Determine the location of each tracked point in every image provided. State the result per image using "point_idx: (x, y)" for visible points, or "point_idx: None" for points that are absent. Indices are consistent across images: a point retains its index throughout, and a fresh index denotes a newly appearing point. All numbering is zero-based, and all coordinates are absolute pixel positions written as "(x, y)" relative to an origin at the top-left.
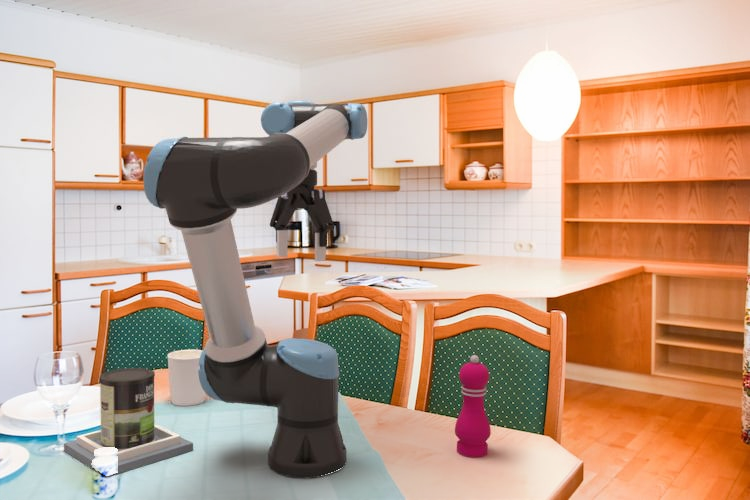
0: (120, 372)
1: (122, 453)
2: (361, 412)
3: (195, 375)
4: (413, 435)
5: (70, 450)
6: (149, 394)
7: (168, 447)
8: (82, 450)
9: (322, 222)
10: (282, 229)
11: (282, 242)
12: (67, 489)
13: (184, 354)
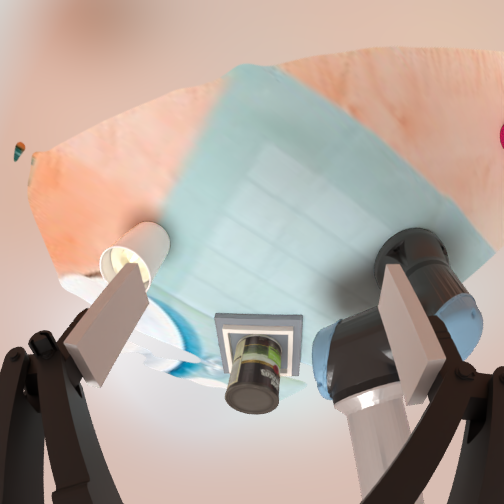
0: (237, 399)
1: (291, 369)
2: (353, 100)
3: (158, 264)
4: (453, 131)
5: None
6: (276, 380)
7: (294, 336)
8: None
9: (469, 442)
10: (72, 363)
11: (117, 327)
12: (297, 387)
13: (103, 260)
